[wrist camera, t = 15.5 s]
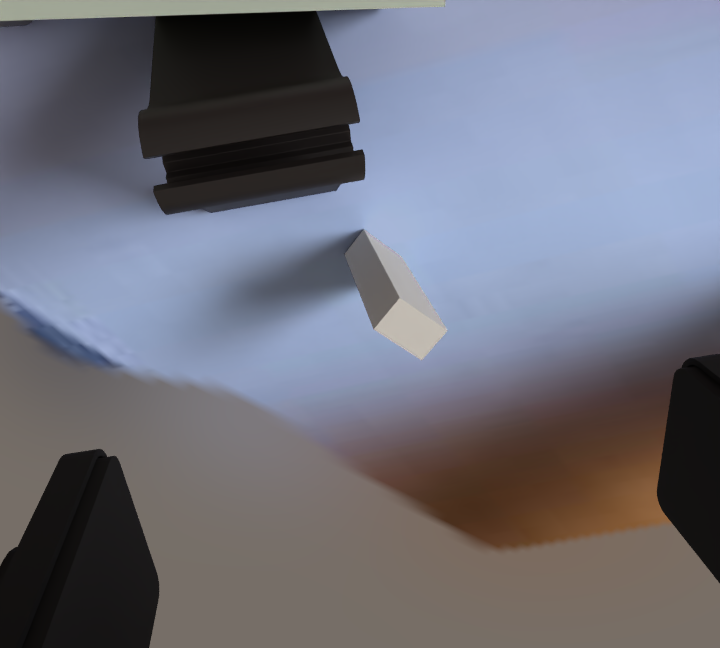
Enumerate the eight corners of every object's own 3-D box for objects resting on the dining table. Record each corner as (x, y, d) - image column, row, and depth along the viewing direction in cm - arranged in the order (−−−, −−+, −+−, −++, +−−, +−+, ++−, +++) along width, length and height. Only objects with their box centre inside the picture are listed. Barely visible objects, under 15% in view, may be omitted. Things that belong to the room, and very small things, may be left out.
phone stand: (335, 189, 30) (381, 284, 20) (210, 210, 30) (189, 320, 19) (303, -23, 26) (340, -48, 16) (157, -3, 26) (93, -12, 15)
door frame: (401, 256, 32) (458, 348, 23) (382, 280, 33) (431, 379, 24) (-44, -65, 24) (-218, -110, 15) (-62, -27, 24) (-242, -49, 15)
